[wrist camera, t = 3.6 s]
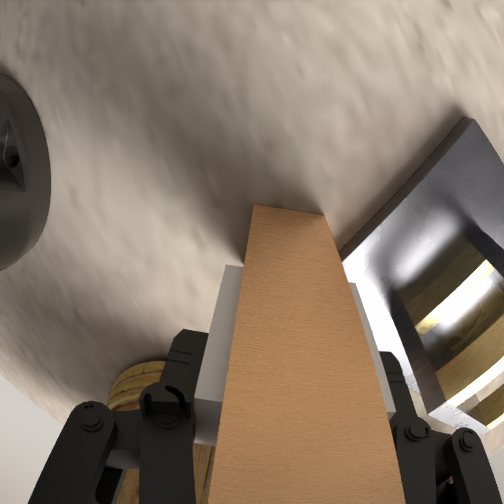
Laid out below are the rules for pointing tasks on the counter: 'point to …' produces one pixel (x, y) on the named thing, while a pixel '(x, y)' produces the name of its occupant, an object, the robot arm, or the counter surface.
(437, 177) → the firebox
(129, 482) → the tankard
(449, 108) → the counter surface
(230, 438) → the tapered wooden post
